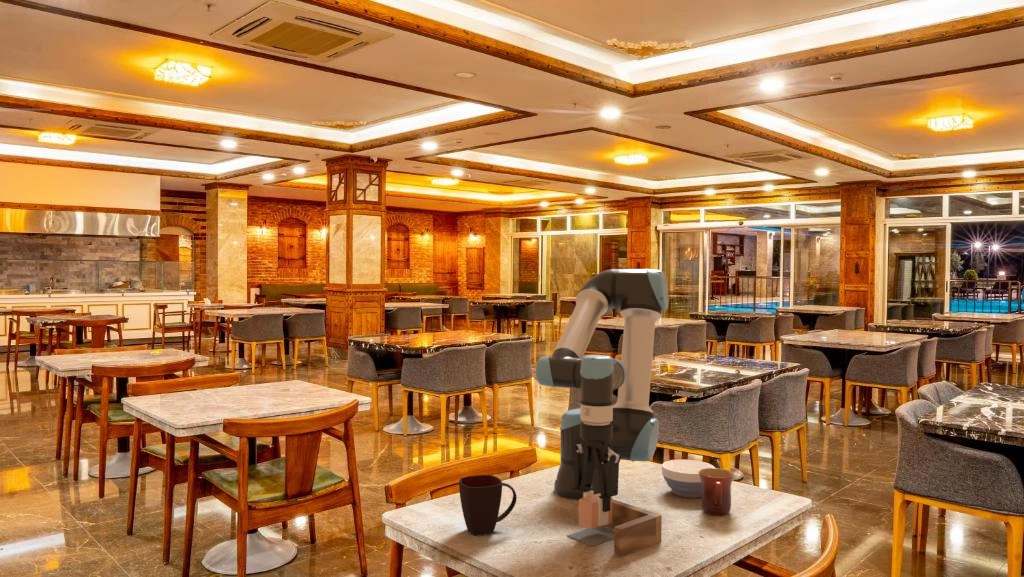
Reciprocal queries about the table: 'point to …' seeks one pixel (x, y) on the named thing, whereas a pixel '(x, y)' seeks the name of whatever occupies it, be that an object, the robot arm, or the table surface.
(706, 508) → the mug
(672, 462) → the bowl
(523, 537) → the table surface
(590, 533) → the pad
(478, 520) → the mug
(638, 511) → the corner walls
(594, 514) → the block
